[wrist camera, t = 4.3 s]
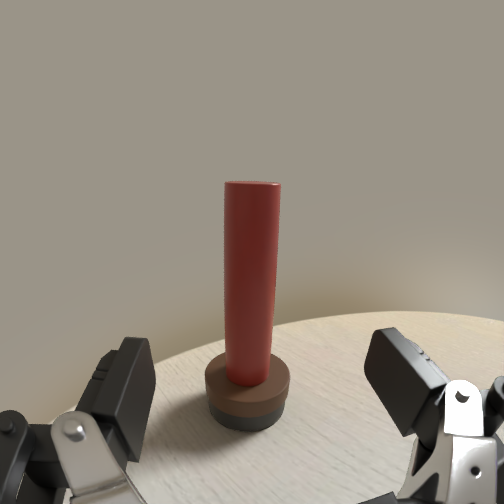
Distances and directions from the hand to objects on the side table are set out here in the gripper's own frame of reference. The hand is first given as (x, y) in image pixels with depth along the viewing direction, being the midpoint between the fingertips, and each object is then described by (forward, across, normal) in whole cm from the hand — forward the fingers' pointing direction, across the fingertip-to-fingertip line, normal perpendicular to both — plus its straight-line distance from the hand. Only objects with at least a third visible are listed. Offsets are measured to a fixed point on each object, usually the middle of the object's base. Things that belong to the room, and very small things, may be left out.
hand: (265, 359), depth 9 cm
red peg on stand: (+6, 0, +8) cm, 10 cm away
